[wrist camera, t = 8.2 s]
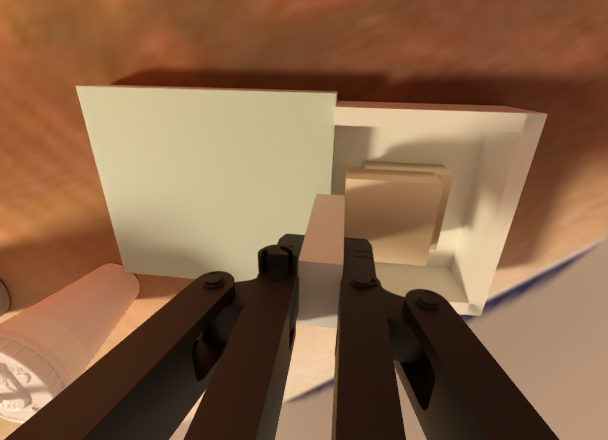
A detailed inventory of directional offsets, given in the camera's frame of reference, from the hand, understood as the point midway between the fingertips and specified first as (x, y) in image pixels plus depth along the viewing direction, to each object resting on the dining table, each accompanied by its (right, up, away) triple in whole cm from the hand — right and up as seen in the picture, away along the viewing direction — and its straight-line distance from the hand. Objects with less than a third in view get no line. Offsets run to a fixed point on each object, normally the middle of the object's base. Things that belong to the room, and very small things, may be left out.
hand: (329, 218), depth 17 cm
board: (-7, +2, +4) cm, 8 cm away
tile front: (+3, +1, +1) cm, 3 cm away
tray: (+5, +1, +3) cm, 6 cm away
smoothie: (-17, -5, +9) cm, 20 cm away
